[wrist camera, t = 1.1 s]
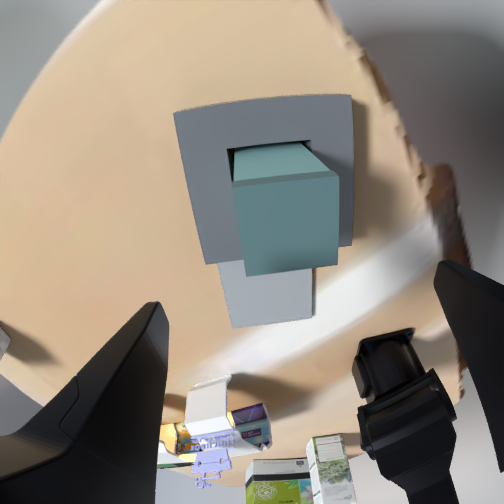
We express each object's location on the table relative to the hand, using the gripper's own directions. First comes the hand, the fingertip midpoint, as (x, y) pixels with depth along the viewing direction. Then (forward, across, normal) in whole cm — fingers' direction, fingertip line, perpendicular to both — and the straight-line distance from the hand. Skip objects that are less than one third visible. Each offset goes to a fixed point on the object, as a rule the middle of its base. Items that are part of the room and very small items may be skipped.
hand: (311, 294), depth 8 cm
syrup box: (+12, -6, +47) cm, 49 cm away
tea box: (+12, +2, +60) cm, 61 cm away
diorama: (+12, +16, +29) cm, 35 cm away
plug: (+12, 0, 0) cm, 12 cm away
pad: (+12, +1, +9) cm, 15 cm away
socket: (+12, 0, 0) cm, 12 cm away
